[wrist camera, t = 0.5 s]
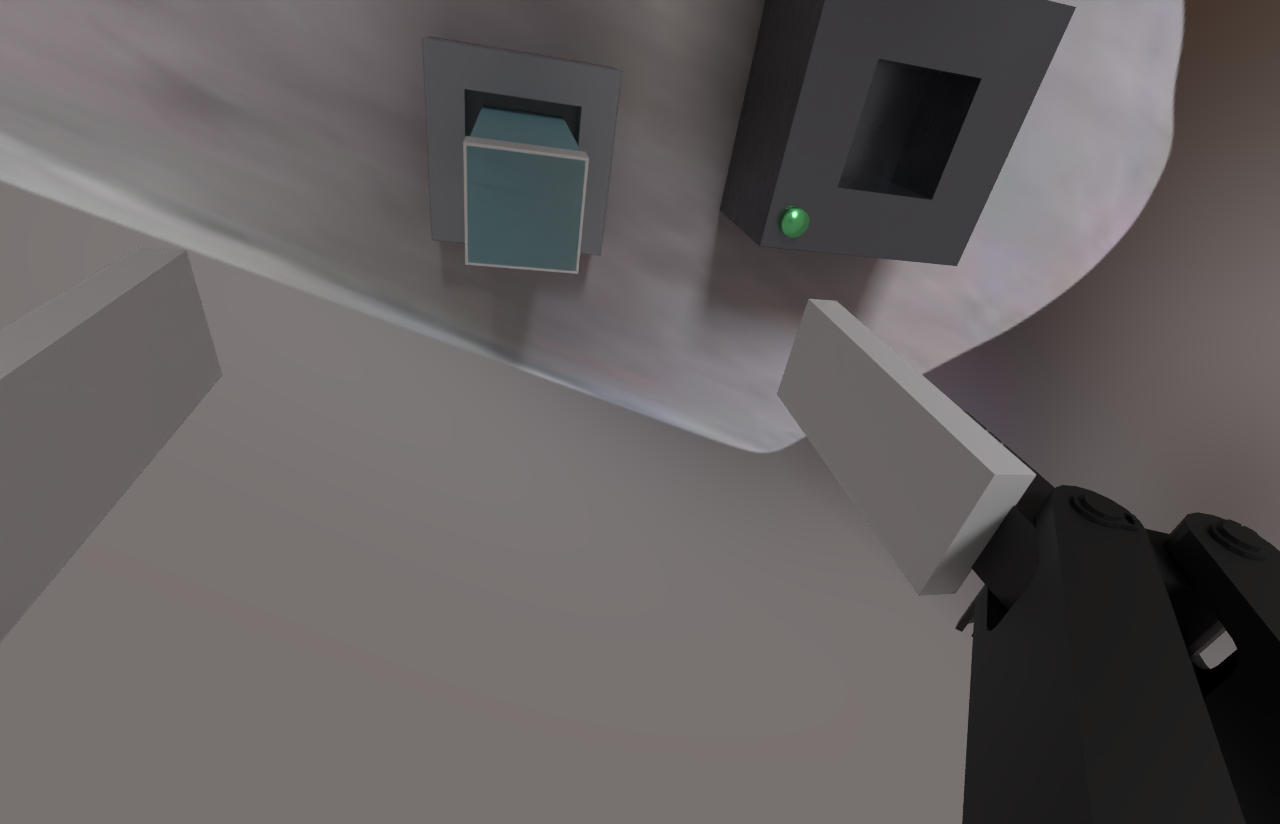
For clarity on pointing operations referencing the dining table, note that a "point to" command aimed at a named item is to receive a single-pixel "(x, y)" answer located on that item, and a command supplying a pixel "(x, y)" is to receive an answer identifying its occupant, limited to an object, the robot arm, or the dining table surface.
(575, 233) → the plug
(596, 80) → the square frame socket
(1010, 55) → the port
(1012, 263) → the dining table surface
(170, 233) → the dining table surface
